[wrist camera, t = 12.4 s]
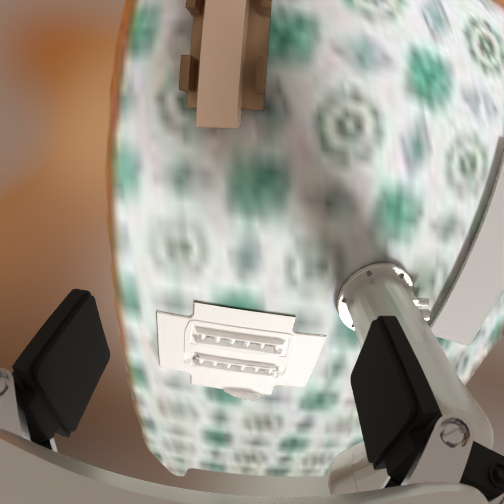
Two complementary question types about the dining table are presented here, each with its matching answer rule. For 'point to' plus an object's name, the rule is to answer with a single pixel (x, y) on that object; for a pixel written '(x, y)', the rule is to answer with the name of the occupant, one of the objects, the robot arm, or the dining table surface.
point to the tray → (237, 349)
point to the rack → (253, 60)
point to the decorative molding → (476, 275)
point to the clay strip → (222, 63)
